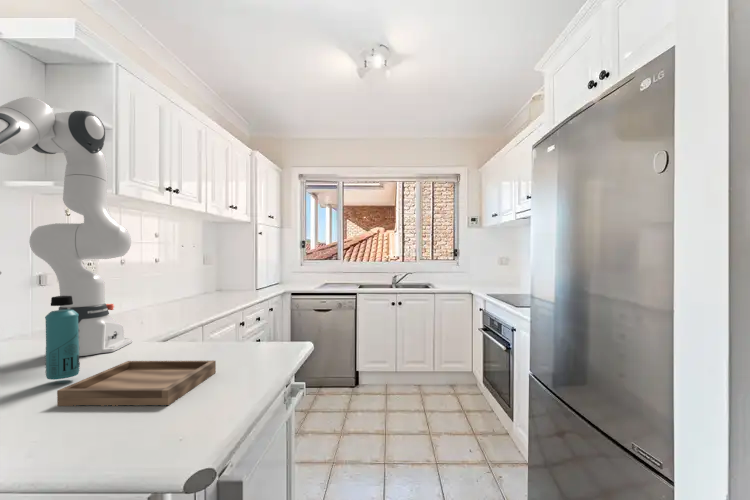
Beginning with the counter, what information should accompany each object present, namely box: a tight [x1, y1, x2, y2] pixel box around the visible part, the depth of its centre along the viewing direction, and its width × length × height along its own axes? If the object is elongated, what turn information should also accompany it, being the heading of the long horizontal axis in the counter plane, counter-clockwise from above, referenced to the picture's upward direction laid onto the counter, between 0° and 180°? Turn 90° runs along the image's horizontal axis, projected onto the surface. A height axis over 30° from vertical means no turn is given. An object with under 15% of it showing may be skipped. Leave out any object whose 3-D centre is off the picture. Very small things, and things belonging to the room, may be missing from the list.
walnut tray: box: [56, 360, 217, 407], centre depth 92 cm, size 22×22×3 cm
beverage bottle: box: [44, 295, 81, 380], centre depth 96 cm, size 6×7×20 cm
